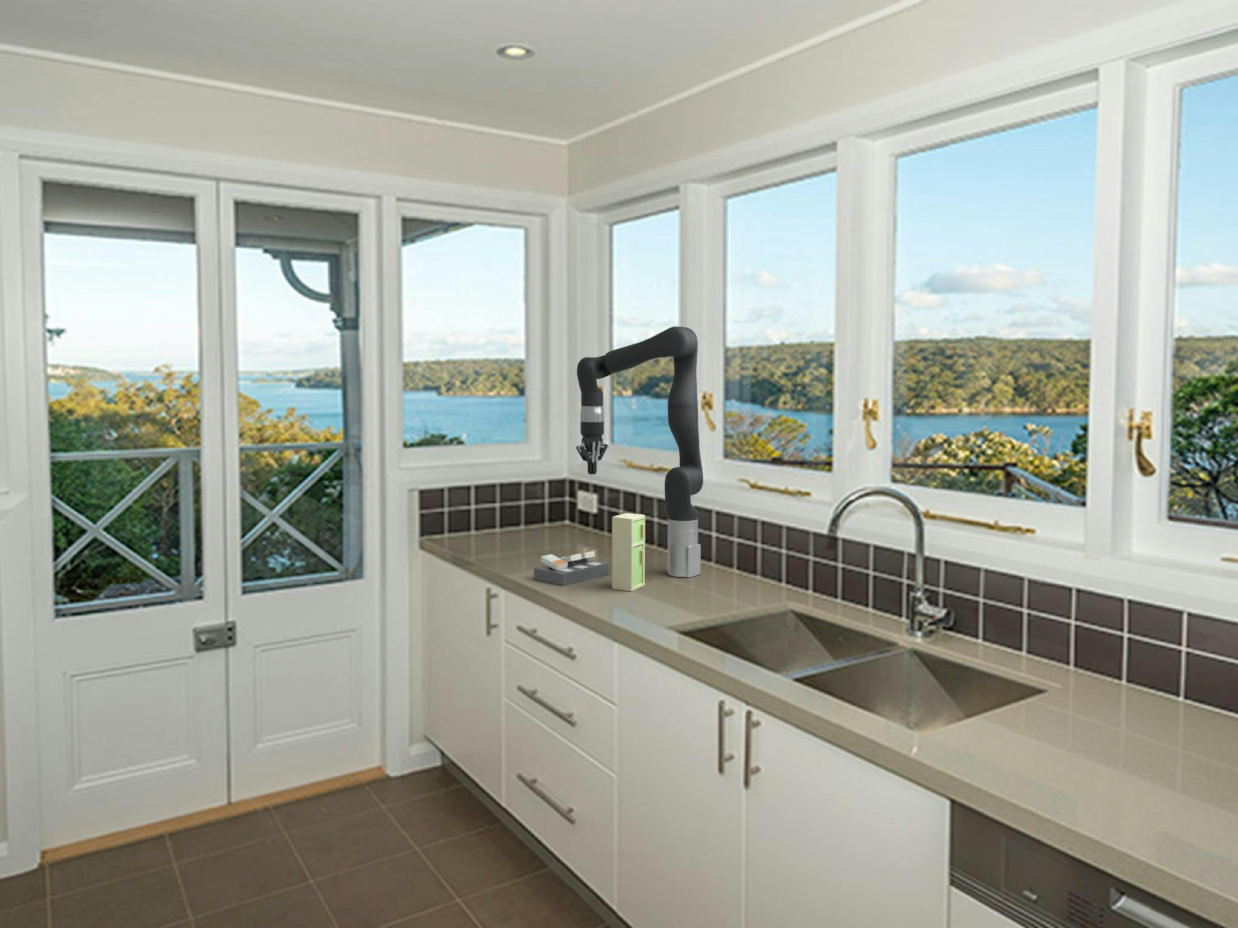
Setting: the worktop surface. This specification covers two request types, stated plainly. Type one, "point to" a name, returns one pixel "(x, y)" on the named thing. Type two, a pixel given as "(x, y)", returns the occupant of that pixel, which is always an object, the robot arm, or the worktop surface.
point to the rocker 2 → (587, 554)
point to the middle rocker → (571, 558)
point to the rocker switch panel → (572, 572)
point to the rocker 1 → (554, 562)
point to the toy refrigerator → (628, 551)
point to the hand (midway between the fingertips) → (592, 474)
